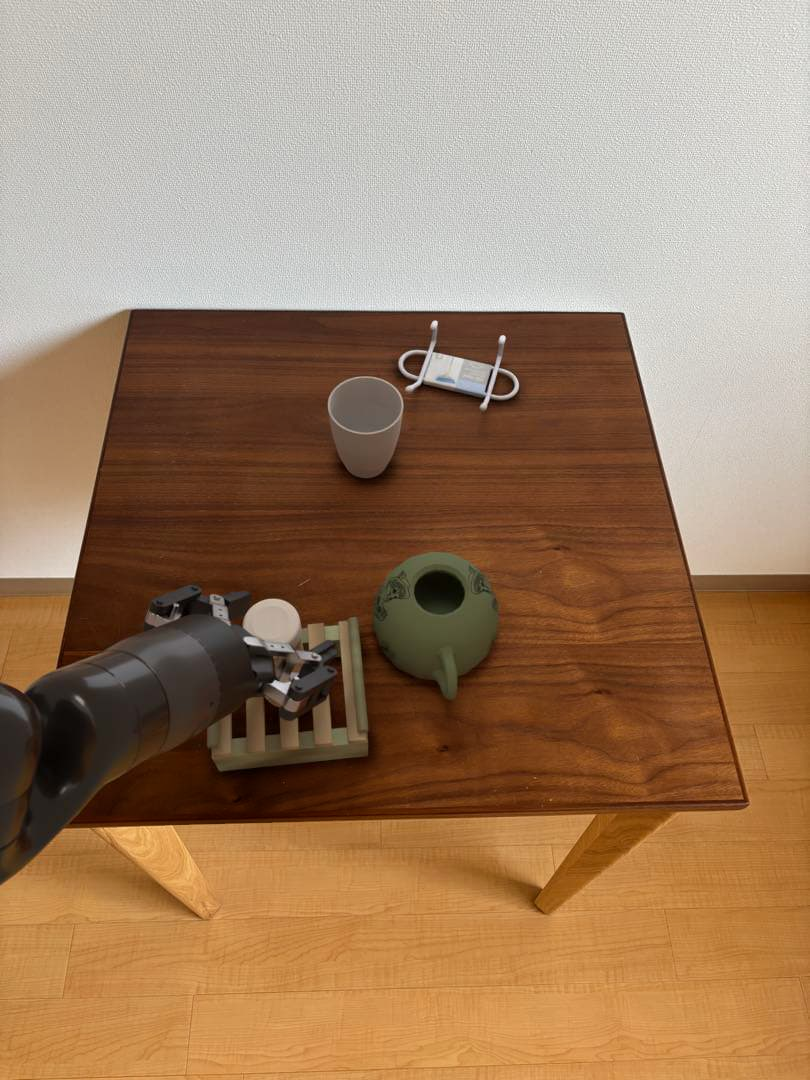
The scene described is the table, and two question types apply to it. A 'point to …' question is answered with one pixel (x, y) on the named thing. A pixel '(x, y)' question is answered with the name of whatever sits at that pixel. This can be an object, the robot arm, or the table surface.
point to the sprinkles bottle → (275, 627)
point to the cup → (365, 423)
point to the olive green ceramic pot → (436, 618)
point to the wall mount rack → (458, 372)
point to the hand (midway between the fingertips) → (286, 626)
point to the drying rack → (291, 741)
